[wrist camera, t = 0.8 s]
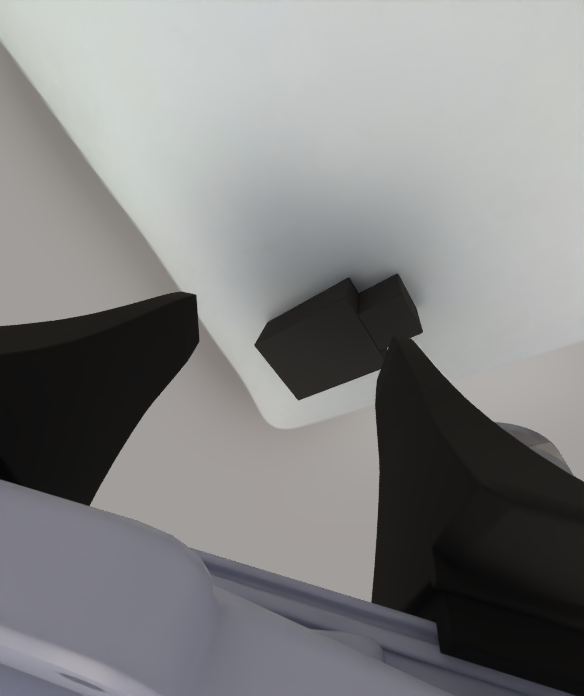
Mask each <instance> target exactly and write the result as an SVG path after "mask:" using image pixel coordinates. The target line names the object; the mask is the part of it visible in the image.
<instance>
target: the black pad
mask: <svg viewBox="0 0 584 696" xmlns="http://www.w3.org/2000/svg"><path fill="white" fill-rule="evenodd" d="M421 333H423V330H422V327H421V323H420V319H419V316H418V312H417V309H416V307H415V305H414V303H413V301H412V299H411V297H410V295H409V293H408V291H407V290H406V288H405V286H404V284H403V282H402V280H401V278H400V276H399V274H396V275H394V276H392V277H390V278H388V279H386V280H384V281H382V282H380V283H378V284H376V285H375V286H373V287H371V288H369V289H367V290H365V291H363V292H361V293H360V294H359V293H358V291H357V290H356V288H355V286H354V285H353V283H352V281H351V280H350V278H347V279H345V280H344V281H342V282H340V283H338V284H336V285H334V286H333V287H331V288H329V289H327V290H325V291H324V292H322V293H320V294H318V295H316V296H315V297H313V298H311V299H309V300H307V301H306V302H304V303H302V304H300V305H298V306H297V307H295V308H293V309H291V310H289V311H288V312H286V313H284V314H282V315H280V316H279V317H277V318H275V319H273V320H271V321H270V322H268V323H267V324H266V326H265V328H264V329H263V331H262V333H261V334H260V336H259V338H258V339H257V341H256V343H255V347H256V348H257V349H258V351H259V352H260V353H261V354H262V356H263V357H264V358H265V359H266V361H267V362H268V363H269V364H270V366H271V367H272V368H273V369H274V371H275V372H276V373H277V374H278V376H279V377H280V378H281V379H282V381H283V382H284V383H285V384H286V386H287V387H288V388H289V389H290V391H291V392H292V393H293V394H294V396H295V397H296V398H297V399H298V400H301V399H304V398H306V397H309V396H312V395H314V394H317V393H319V392H322V391H325V390H327V389H330V388H333V387H335V386H338V385H340V384H343V383H346V382H348V381H351V380H354V379H356V378H359V377H362V376H364V375H367V374H369V373H372V372H375V371H377V370H380V369H381V368H382V365H383V362H384V359H385V356H386V354H387V347H389V345H390V342H391V340H392V337H393V335H395V336H400V337H405V338H411V337H414V336H416V335H419V334H421Z"/></svg>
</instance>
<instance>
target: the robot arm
mask: <svg viewBox="0 0 584 696" xmlns="http://www.w3.org/2000/svg"><path fill="white" fill-rule="evenodd" d="M198 343H199V328H198V313H197V298H196V295H195V294H190V293H185V292H175V293H170V294H166V295H162V296H158V297H155V298H151V299H147V300H144V301H140V302H137V303H133V304H130V305H126V306H122V307H118V308H114V309H110V310H106V311H102V312H98V313H94V314H89V315H84V316H79V317H73V318H67V319H62V320H55V321H47V322H38V323H30V324H21V325H10V326H0V696H584V482H583V481H582V480H580V479H578V478H576V477H574V476H573V475H571V474H569V473H568V472H566V471H565V470H563V469H561V468H560V467H558V466H557V465H555V464H553V463H552V462H550V461H549V460H547V459H545V458H544V457H542V456H541V455H539V454H538V453H536V452H535V451H533V450H532V449H530V448H529V447H527V446H526V445H524V444H523V443H521V442H520V441H519V440H517V439H516V438H515V437H513V436H512V435H510V434H509V433H508V432H506V431H505V430H504V429H502V428H501V427H499V426H498V425H497V424H496V423H494V422H493V421H492V420H490V419H489V418H488V417H487V416H486V415H484V414H483V413H482V412H481V411H480V410H479V409H477V408H476V407H475V406H474V405H473V404H471V403H470V402H469V401H468V400H467V399H466V398H465V397H464V396H463V395H462V394H461V393H460V392H459V391H458V390H457V389H456V388H455V387H454V386H453V385H452V384H451V383H450V382H449V381H448V380H447V379H446V378H445V377H444V376H443V375H442V374H441V372H440V371H439V370H438V369H437V368H436V367H435V366H434V364H433V363H432V362H431V361H430V360H429V359H428V357H427V356H426V355H425V354H424V353H423V352H422V350H421V349H420V348H419V347H418V346H417V344H416V343H415V342H414V341H413V340H412V339H410V338H405V337H400V336H395V335H393V337H392V340H391V342H390V345H389V348H388V351H387V354H386V356H385V359H384V362H383V365H382V368H381V371H380V373H379V376H378V379H377V386H376V400H375V409H376V424H377V436H378V450H379V466H380V467H379V469H380V476H379V477H380V478H379V503H378V522H377V539H376V553H375V568H374V579H373V590H372V602H371V603H370V602H367V601H364V600H360V599H357V598H353V597H351V596H347V595H344V594H341V593H337V592H334V591H331V590H327V589H324V588H321V587H318V586H314V585H311V584H308V583H305V582H301V581H298V580H295V579H291V578H288V577H284V576H281V575H278V574H275V573H271V572H268V571H265V570H262V569H258V568H255V567H252V566H249V565H245V564H242V563H239V562H236V561H232V560H228V559H226V558H222V557H219V556H216V555H213V554H209V553H205V552H203V551H199V550H196V549H193V548H190V547H188V546H186V545H185V544H184V543H182V542H181V541H179V540H178V539H177V538H175V537H174V536H173V535H170V534H168V533H166V532H163V531H161V530H158V529H156V528H154V527H151V526H149V525H147V524H144V523H142V522H140V521H137V520H134V519H130V518H126V517H124V516H120V515H116V514H113V513H110V512H107V511H104V510H100V509H97V508H93V507H90V504H91V502H92V500H93V498H94V496H95V494H96V492H97V490H98V489H99V487H100V485H101V483H102V482H103V479H104V478H105V476H106V475H107V473H108V471H109V469H110V468H111V466H112V464H113V462H114V461H115V459H116V457H117V456H118V454H119V452H120V451H121V449H122V447H123V446H124V444H125V443H126V441H127V439H128V438H129V436H130V435H131V433H132V432H133V430H134V429H135V427H136V425H137V424H138V422H139V421H140V420H141V418H142V417H143V415H144V414H145V412H146V411H147V409H148V408H149V407H150V406H151V404H152V403H153V402H154V400H155V399H156V398H157V397H158V396H159V395H160V393H161V392H162V391H163V390H164V389H165V387H166V386H167V385H168V384H169V383H170V382H171V380H172V379H173V378H174V377H175V376H176V374H177V373H178V372H179V371H180V370H181V368H182V367H183V366H184V365H185V364H186V362H187V361H188V359H189V358H190V356H191V355H192V353H193V351H194V350H195V348H196V346H197V344H198Z"/></svg>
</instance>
